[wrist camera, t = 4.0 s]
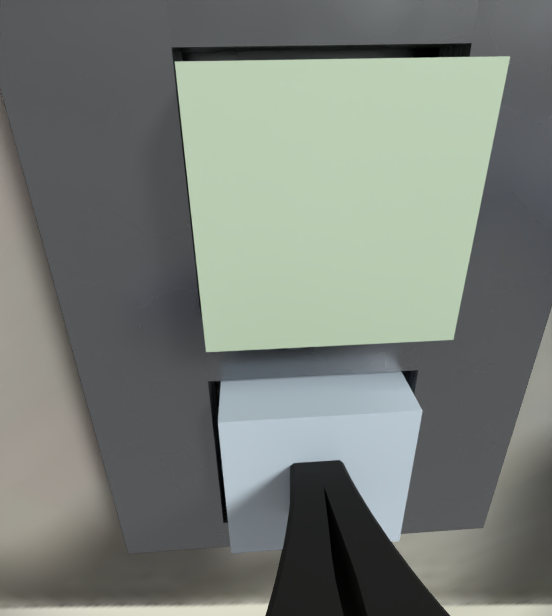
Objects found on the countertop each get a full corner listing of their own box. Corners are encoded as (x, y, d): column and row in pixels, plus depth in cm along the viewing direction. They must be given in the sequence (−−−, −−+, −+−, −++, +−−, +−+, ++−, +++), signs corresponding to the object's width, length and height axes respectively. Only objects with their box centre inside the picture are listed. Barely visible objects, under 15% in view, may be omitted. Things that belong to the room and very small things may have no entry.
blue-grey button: (387, 345, 13) (422, 410, 11) (372, 463, 16) (399, 541, 13) (223, 353, 13) (217, 422, 10) (233, 471, 15) (231, 553, 13)
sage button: (433, 63, 9) (510, 56, 7) (405, 280, 12) (452, 339, 9) (195, 67, 9) (174, 61, 6) (214, 288, 11) (206, 352, 9)
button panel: (683, -579, 7) (951, -980, 4) (446, 460, 18) (482, 527, 15) (-95, -626, 6) (-334, -1127, 4) (146, 479, 17) (128, 553, 14)
